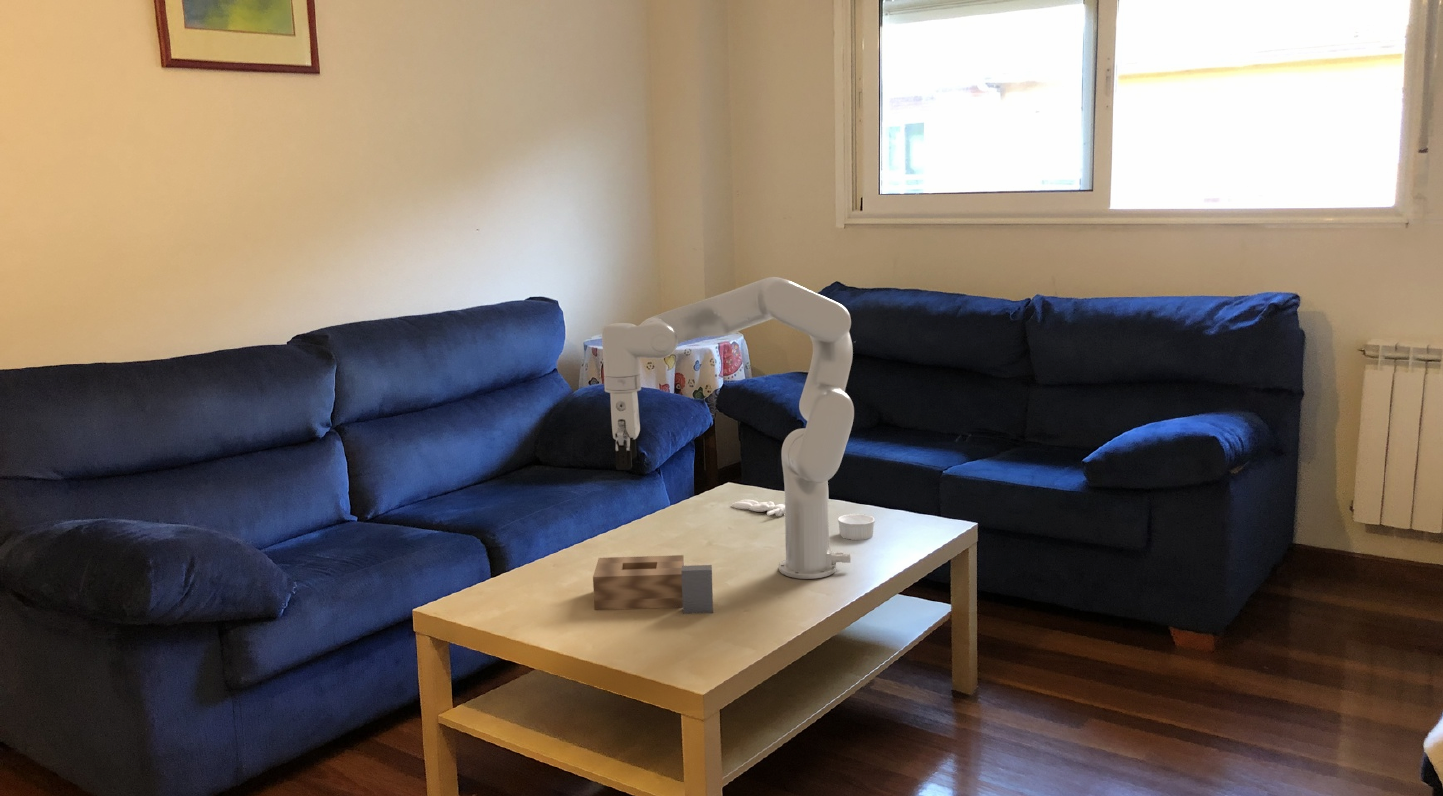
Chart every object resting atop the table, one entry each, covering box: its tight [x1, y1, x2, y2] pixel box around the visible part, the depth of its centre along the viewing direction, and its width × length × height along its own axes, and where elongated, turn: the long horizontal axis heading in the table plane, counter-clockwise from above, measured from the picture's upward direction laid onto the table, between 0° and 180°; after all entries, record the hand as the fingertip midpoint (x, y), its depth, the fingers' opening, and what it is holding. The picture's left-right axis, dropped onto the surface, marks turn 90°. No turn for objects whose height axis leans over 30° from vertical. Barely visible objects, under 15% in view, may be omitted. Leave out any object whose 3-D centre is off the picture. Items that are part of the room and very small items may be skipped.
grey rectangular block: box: [682, 564, 714, 615], centre depth 220 cm, size 6×3×9 cm, turn 91°
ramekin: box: [837, 513, 876, 541], centre depth 266 cm, size 9×9×4 cm
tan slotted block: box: [592, 554, 685, 611], centre depth 228 cm, size 18×12×7 cm, turn 91°
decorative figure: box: [731, 499, 785, 517], centre depth 290 cm, size 4×12×18 cm
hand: (626, 463), depth 230 cm, fingers open, 9 cm apart
